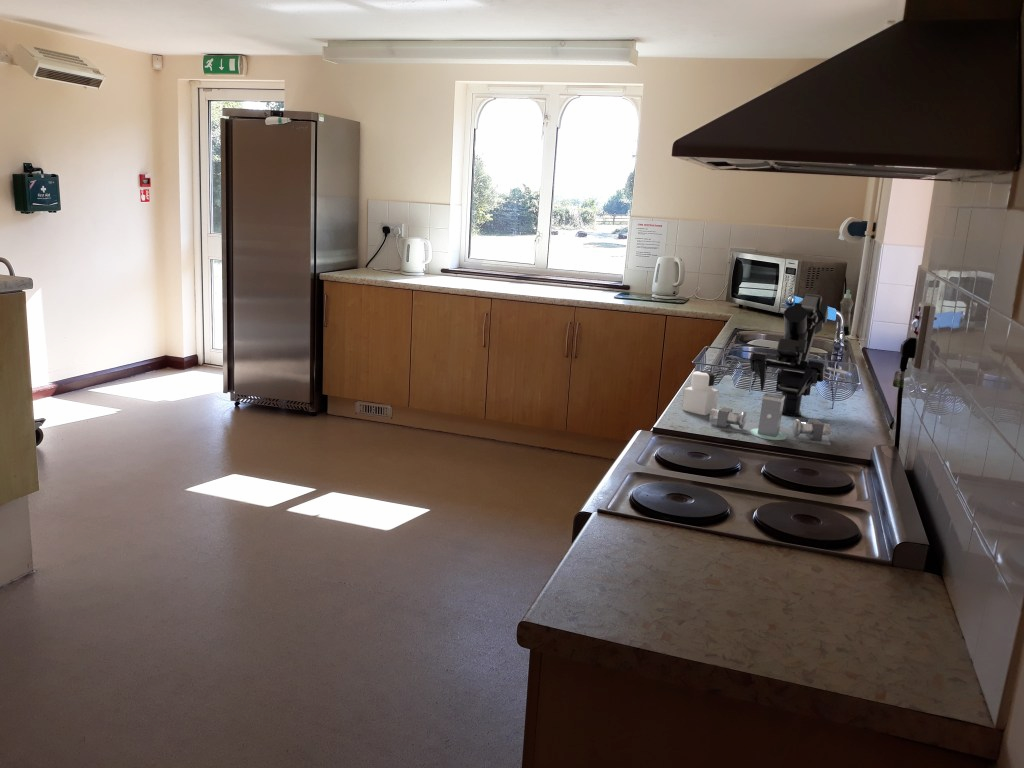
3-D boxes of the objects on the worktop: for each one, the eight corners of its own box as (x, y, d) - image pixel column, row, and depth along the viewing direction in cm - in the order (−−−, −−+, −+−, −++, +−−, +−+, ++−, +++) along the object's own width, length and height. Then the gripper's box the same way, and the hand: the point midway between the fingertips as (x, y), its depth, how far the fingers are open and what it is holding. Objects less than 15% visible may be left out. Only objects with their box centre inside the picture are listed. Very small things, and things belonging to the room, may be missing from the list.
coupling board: (708, 421, 221) (709, 416, 221) (825, 436, 214) (826, 432, 214) (707, 434, 208) (707, 429, 208) (831, 452, 201) (832, 447, 201)
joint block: (761, 429, 212) (766, 392, 210) (779, 433, 210) (785, 395, 208) (757, 434, 207) (762, 395, 205) (775, 437, 205) (781, 399, 203)
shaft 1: (744, 427, 213) (747, 410, 212) (740, 431, 210) (742, 414, 208) (712, 421, 217) (715, 404, 216) (707, 425, 214) (709, 407, 212)
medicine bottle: (692, 409, 233) (698, 367, 230) (715, 414, 229) (721, 372, 226) (680, 413, 228) (686, 371, 225) (704, 418, 223) (709, 376, 221)
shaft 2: (796, 439, 206) (799, 421, 205) (790, 434, 211) (793, 416, 210) (830, 441, 206) (833, 424, 205) (823, 436, 211) (826, 419, 210)
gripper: (756, 322, 218) (741, 369, 212) (829, 331, 210) (816, 381, 203) (758, 347, 227) (744, 393, 220) (829, 357, 219) (817, 405, 212)
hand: (779, 392), depth 214 cm, fingers open, 9 cm apart
